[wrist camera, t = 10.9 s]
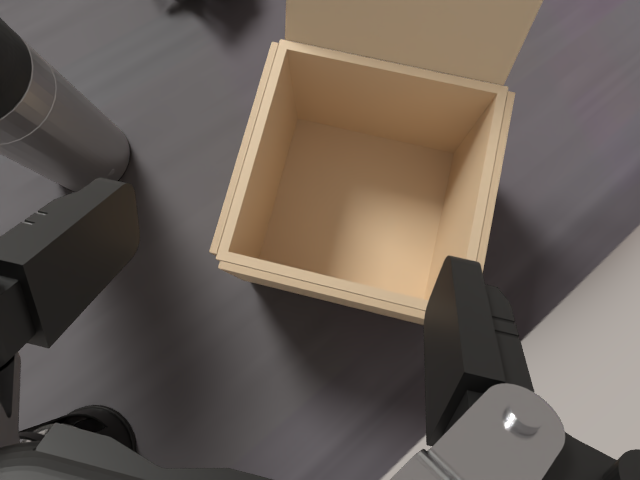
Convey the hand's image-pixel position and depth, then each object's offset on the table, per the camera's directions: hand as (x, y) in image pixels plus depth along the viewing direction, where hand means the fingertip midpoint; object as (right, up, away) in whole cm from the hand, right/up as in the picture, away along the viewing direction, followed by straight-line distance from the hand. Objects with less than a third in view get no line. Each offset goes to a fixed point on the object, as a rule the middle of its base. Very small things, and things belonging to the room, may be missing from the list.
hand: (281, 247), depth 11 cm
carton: (+5, +3, +38) cm, 39 cm away
